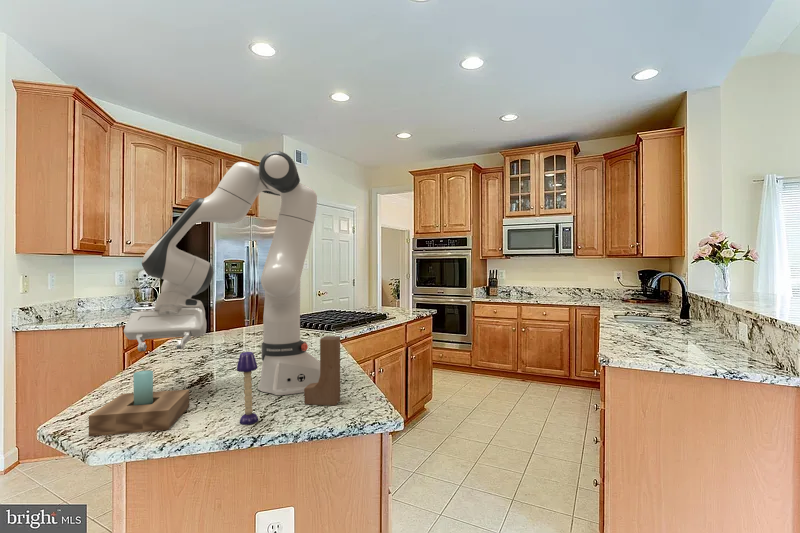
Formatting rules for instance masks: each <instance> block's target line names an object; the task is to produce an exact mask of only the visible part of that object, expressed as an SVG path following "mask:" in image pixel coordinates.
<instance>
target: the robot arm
mask: <svg viewBox="0 0 800 533" xmlns="http://www.w3.org/2000/svg"><path fill="white" fill-rule="evenodd" d="M300 181H301V179H300V176H299V173H298V168H297V166H296V163H295V161H294V160H293V159H292V157H291V156H290V155H288V154H287V153H285V152H283V151H280V150H275V151H269V152H267V153H266V154H265V155H264V156H262V158H261V160H260V161H259V165H258V166H257V165H253V164H251V163H250V162H245V161H238V162H235V163H233V165H232V166H231V167H230V168H229V169H228V171H227V172H226V173H225V174H224V176H222V178H221V180H220V181H219V183H218V185H217V187H216V188H215V190H213V192H212V193H211V194H209V195H208V196H206V197H204V198H202V197H198V198H197V199H195V200H194V201H193V202H191V203H190V204H189V205H188V206H187V208H185V210H183V212H182V213H181V214H180V215H179V216H178V217H177V218H176V220H175V221H174V222H173V223H172V224H171V225H170V227H168V229H167V230H166V231H165V232H164V233H163V234H162V236H161V237H160V238H159V239H157V241H156V242H155V243H154V244H152V246H150V248H148V250H146V252H145V253H144V255H143V257H142V260H141V265H142V268H143V270H144V272H145V274H147V276H150V277H153V278H157V279H161V280H163V281H162V284H161V287H160V292H161V293H159V295H158V297H157V298H156V299H157V300H156V302H155V305H154V309H149V308H148V309H138V310H137V311H134V312H131V314H130V315H129V318H128V320H127V322H126V324H125V326H124V329H123V333H124V336H125V337H126V338H127V339H128V340H130V341H133V340H137V343H138V345H137V351H138V352H145V351H146V350H147V347H148V346H147V344H146V342H145V340H151V339H166V338H167V339H169V338H170V339H172V338H173V339H174V338H181V339H180V340H177V342H176V349H177V350H184V348H185V345H186V344H187V343H188V342H189V341H190V340H191V338H192V337H202V336H204V335H205V334H206V332H207V319H206V310H205V307H204V303H203V302H202V301H201V300H199V299H195V298H192V297H193V296H197V295H199V294H200V293H203V292H205V291H206V290H207V289H208V288H209V287H210V284H211V282H212V279H213V276H214V269H213V265H212V264H211V262H209V261H207V260H206V259H203V258H200V257H199V256H197V255H193V254H191V253H189V252H186V251H185V250H181V249H179V248H178V247H177V245H178V243H179V242H180V241H181V240H182V238H184V236H186V234H187V232H188V231H190V229H191V228H192V227H193V226H195V225H196V224H198V223H203V222H205V223H206V222H209V223H215V224H216V223H219V224H225V225H228V224H229V225H230V224H236V223H239V222H240V221H243V220H244V219H245V217H246V216H247V214H248V213H249V211H250V209H251V208H252V206H253V204H254V203H255V200H256V199H257V197H259V195H260V194H261V193H264V194H269V195H274V196H277V197H278V196H280V199H281V202H280V203H281V204H280V209H279V212H278V215H277V216H278V217H277V221H276V224H275V229H274V232H273V237H272V240H271V243H270V246H269V249H268V251H267V252H268V253H267V256H266V259H265V262H264V265H263V270H262V273H261V277H260V284H261V286H262V289H263V291H264V304H263V305H264V306H263V307H264V308H263V317H262V318H263V319H262V320H263V321H262V324H263V326H262V328H263V330H262V332H263V333H262V334H263V335H262V336H263V338H262V342H261V345H260V346H261V352H260V353H261V360H262V362H261V363H262V364H261V365H262V366H261V373H260V378H259V383H258V385H257V390H258V391H261V392H263V393H269V394H273V395H275V396H284V395H285V396H286V395H292V394H293V395H294V394H301V393H304V389H305V387H307V386H308V385H309V384H311V383H318V382H319V378H320V359H317V358H316V357H315V356H313V355H311V354H310V353H309V352H307V350H308V349H309V345H308V343H307V341H304V340H301V277H302V272H303V269H304V265H305V261H306V257H307V252H308V249H309V247H310V246H309V245H310V241H311V237H312V233H313V228H314V224H315V220H316V214H317V207H318V206H317V205H318V195H317V193H316V191H315V190H314V189H312V187H310V186H307V185H306V184H305V185H304V184H302V183H301V182H300Z"/></svg>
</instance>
